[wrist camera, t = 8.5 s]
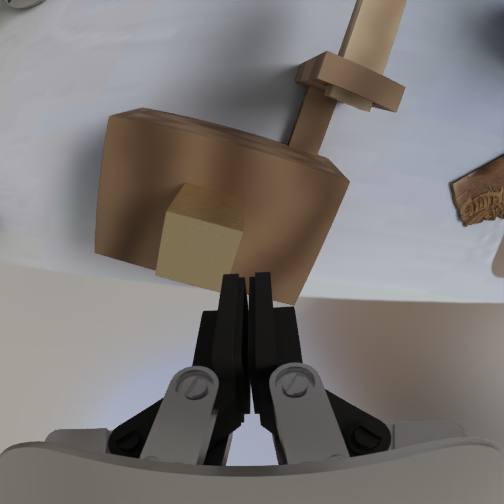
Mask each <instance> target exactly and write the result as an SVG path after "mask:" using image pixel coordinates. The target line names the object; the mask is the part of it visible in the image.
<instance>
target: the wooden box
mask: <svg viewBox="0 0 504 504" xmlns="http://www.w3.org/2000/svg"><path fill="white" fill-rule="evenodd" d="M295 82H297V83H300V84H303V85H306V86H308V88H307V91H306V94H305V97H304V100H303V103H302V105H301V108H300V111H299V114H298V117H297V120H296V123H295V126H294V128H293V131H292V134H291V137H290V140H289V143H288V145H287V144H283V143H280V142H277V141H274V140H271V139H267V138H264V137H261V136H257V135H254V134H251V133H247V132H244V131H240V130H236V129H233V128H229V127H225V126H222V125H218V124H214V123H210V122H206V121H202V120H198V119H194V118H189V117H185V116H180V115H176V114H171V113H167V112H162V111H157V110H152V109H147V108H139V109H135V110H131V111H127V112H123V113H119V114H115V115H121V116H126V117H132V118H137V119H142V120H147V121H152V122H157V123H161V124H166V125H170V126H175V127H179V128H184V129H188V130H192V131H196V132H200V133H204V134H208V135H212V136H216V137H220V138H223V139H227V140H231V141H235V142H238V143H242V144H245V145H249V146H252V147H256V148H259V149H262V150H266V151H269V152H272V153H275V154H279V155H282V156H285V157H288V158H291V159H294V160H297V161H300V162H303V163H306V164H309V165H312V166H315V167H318V168H321V169H324V170H327V171H329V172H332V173H335V174H338V175H340V176H343V177H345V176H344V175H343V174H342V173H341V172H340V171H339V169H338V168H337V167H336V166H335V165H334V164H333V163H332V162H331V161H330V160H329V159H327V158H325V157H322V156H319V155H318V152H319V149H320V146H321V144H322V141H323V138H324V136H325V133H326V130H327V127H328V125H329V122H330V119H331V117H332V114H333V111H334V108H335V105H336V103H337V100H336V99H333V98H331V97H328V96H326V95H324V93H325V91H326V88H327V85H328V84H331V85H334V86H336V87H339V88H341V89H344V90H346V91H348V92H351V93H353V94H355V95H358V96H360V97H362V98H364V99H367V100H369V101H371V102H373V103H372V106H371V107H375V108H379V109H383V110H388V111H392V112H397V110H398V107H399V104H400V101H401V98H402V96H403V93H404V90H405V87H404V86H402V85H400V84H398V83H397V82H395V81H393V80H391V79H389V78H387V77H385V76H383V75H381V74H379V73H377V72H374V71H372V70H370V69H368V68H366V67H364V66H362V65H359V64H357V63H355V62H353V61H350V60H348V59H345V58H343V57H341V56H338V55H336V54H333V53H331V52H328V51H326V52H324V53H322V54H320V55H318V56H316V57H314V58H312V59H310V60H308V61H306V62H304V63H302V64H301V65H300V68H299V71H298V74H297V76H296V79H295Z"/></svg>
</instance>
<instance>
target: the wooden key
mask: <svg viewBox="0 0 504 504" xmlns="http://www.w3.org/2000/svg"><path fill="white" fill-rule="evenodd" d="M405 4H406V0H357V1H356V4H355V7H354V10H353V13H352V16H351V19H350V22H349V25H348V27H347V30H346V33H345V36H344V39H343V42H342V45H341V48H340V51H339V54H338V56H341V57H343V58H345V59H348V60H350V61H353V62H355V63H357V64H359V65H362V66H364V67H366V68H368V69H370V70H372V71H374V72H377V73H379V74H381V75H383V72H384V69H385V67H386V64H387V61H388V58H389V55H390V52H391V49H392V46H393V43H394V39H395V36H396V33H397V30H398V27H399V24H400V20H401V17H402V14H403V11H404V7H405ZM324 95H326V96H328V97H331V98H333V99H336V100H338V101H341V102H343V103H346V104H348V105H351V106H353V107H355V108H358V109H360V110H363V111H367V112H370V109H371V106H372V103H373V102H371V101H369V100H367V99H364V98H362V97H360V96H358V95H355V94H353V93H351V92H348V91H346V90H344V89H341V88H339V87H336V86H334V85H331V84H328V85H327V88H326V91H325V93H324Z"/></svg>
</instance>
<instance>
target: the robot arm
mask: <svg viewBox="0 0 504 504" xmlns="http://www.w3.org/2000/svg"><path fill="white" fill-rule="evenodd" d="M4 1H5V3H6V4H7V5H8V6H10V7H13V8H18V9H25V8H30V7H32V6H35V5H37V4H39V3H41V2H43V1H44V0H4ZM250 385H251V388H252V396H253V403H254V411H255V414H260V421H261V425H262V426H263V427H265V428H266V429H267V430H268V431H270V432H271V433H272V437H273V442H274V446H275V450H276V455H277V460H278V464H279V465H271V466H226V462H227V458H228V454H229V449H230V445H231V441H232V433H233V431H234V430H236V429H237V428H238V427H239V426H241V422H244V414H250ZM0 504H504V449H503V447H501V446H500V445H499V444H498V443H496V442H493V441H491V440H487V439H483V438H474V437H466V432H465V430H464V428H463V427H462V425H461V424H459V423H458V422H456V421H453V420H439V421H438V420H437V421H413V422H395V423H394V424H384V423H383V422H382V421H380V420H378V419H377V418H375V417H373V416H371V415H369V414H368V413H366V412H364V411H362V410H360V409H359V408H357V407H355V406H353V405H351V404H350V403H348V402H346V401H345V400H343V399H341V398H339V397H337V396H336V395H334V394H332V393H331V392H329V391H328V390H326V389H325V388H324V386H323V383H322V381H321V378H320V376H319V374H318V372H317V371H316V370H315V369H314V368H312V367H311V366H309V365H306V364H303V362H302V356H301V348H300V341H299V335H298V328H297V322H296V315H295V309H294V307H278V308H273V300H272V287H271V273H270V272H255V277H249V311H248V302H247V292H246V282H245V277H239V273H237V274H223V279H222V286H221V292H220V299H219V307H218V310H217V311H203V314H202V318H201V323H200V328H199V333H198V338H197V344H196V349H195V354H194V360H193V365H192V367H187V368H184V369H182V370H180V371H179V372H178V373H177V374H175V375H174V377H173V378H172V380H171V382H170V384H169V387H168V389H167V391H166V394H165V396H164V398H162V399H161V400H159V401H158V402H156V403H155V404H153V405H151V406H150V407H148V408H147V409H145V410H144V411H142V412H141V413H139V414H137V415H136V416H134V417H132V418H131V419H129V420H127V421H126V422H124V423H123V424H121V425H119V426H118V427H117V428H116V429H114V430H112V431H109V430H108V429H107V428H99V429H60V430H55V431H53V432H52V433H50V434H49V435H48V437H47V438H46V440H45V442H40V441H38V442H25V443H20V444H16V445H13V446H10V447H9V448H7V449H5V450H4V451H3V452H2V453H1V454H0Z"/></svg>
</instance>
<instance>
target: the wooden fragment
mask: <svg viewBox="0 0 504 504" xmlns="http://www.w3.org/2000/svg"><path fill="white" fill-rule="evenodd" d="M449 183H450V182H449ZM450 186H451V191H452V197H453V203H454V205H455V207H456V208H457V209H458V211H459V218H460V219H461V220H462V221H463V222H464V224H465V226H466V227H467V226H468V225H472V224H476V223H481V222H483V219H484V220H493V221H494V220H495V218H496V217H497V216H500V217H501V218H502V219H504V156H502V157H500V158H498V159H496V160H494V161H493V162H491V163H489V164H487V165H485V166H483V167H482V168H480V169H478V170H476V171H474V172H473V173H470V174H469V175H467V176H465V177H463V178H462V179H460V180H459V181H457V182H455V183H450Z"/></svg>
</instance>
